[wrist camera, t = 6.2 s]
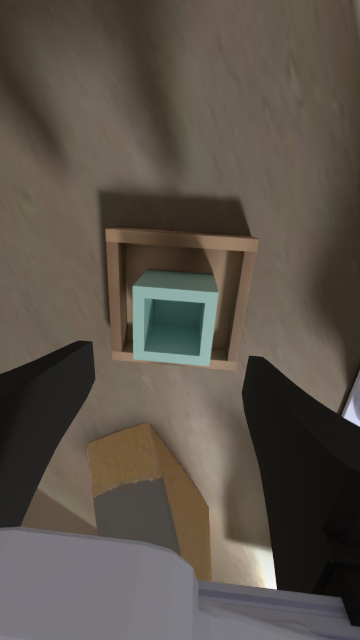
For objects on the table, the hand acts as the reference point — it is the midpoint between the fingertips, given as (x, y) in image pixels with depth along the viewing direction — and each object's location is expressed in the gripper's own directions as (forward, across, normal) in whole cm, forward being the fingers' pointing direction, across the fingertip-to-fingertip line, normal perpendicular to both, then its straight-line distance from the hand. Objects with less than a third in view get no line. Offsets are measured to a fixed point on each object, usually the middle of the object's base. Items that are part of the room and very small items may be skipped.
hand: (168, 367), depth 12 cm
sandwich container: (+10, +2, +22) cm, 24 cm away
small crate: (+9, 0, 0) cm, 9 cm away
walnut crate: (+10, 0, 0) cm, 10 cm away
